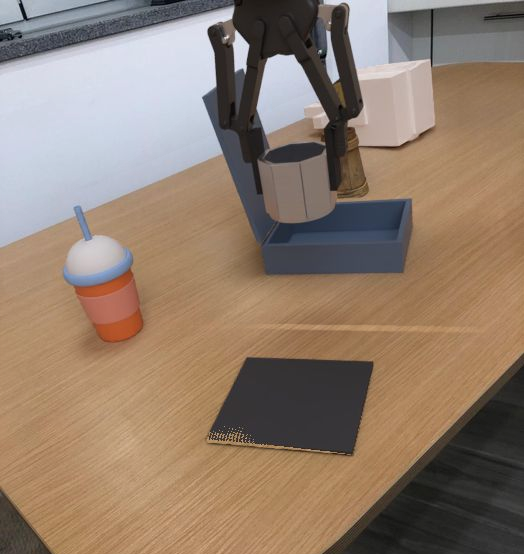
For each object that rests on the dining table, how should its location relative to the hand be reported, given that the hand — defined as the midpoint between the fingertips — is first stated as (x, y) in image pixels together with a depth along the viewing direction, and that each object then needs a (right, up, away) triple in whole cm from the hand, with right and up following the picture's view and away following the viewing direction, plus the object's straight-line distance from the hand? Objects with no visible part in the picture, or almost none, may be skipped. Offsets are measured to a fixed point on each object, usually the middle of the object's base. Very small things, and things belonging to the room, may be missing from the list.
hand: (299, 187), depth 66 cm
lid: (-5, +10, +18) cm, 22 cm away
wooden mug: (+12, +12, +46) cm, 49 cm away
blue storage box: (+8, -4, +24) cm, 25 cm away
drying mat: (-1, -24, -2) cm, 24 cm away
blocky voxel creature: (+19, +30, +70) cm, 78 cm away
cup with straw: (-23, -15, +17) cm, 33 cm away
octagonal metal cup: (0, -2, +1) cm, 3 cm away
